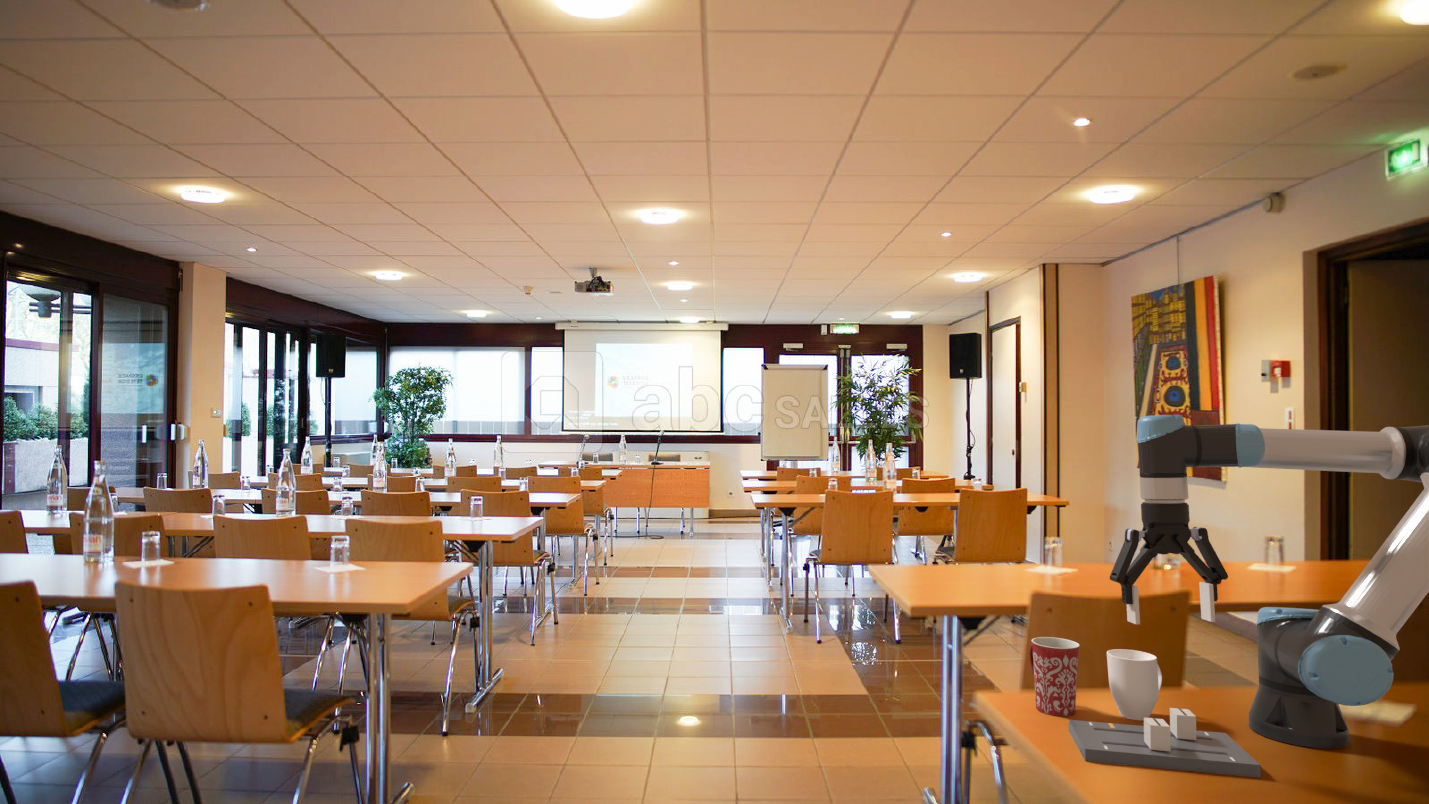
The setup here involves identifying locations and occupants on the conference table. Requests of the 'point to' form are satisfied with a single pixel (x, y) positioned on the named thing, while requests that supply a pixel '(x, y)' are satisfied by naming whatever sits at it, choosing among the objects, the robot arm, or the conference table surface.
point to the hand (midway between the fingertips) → (1171, 621)
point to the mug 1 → (1055, 674)
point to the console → (1188, 755)
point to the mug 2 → (1134, 682)
